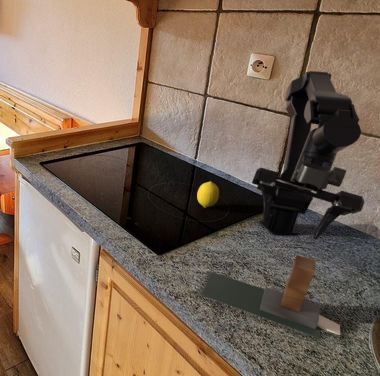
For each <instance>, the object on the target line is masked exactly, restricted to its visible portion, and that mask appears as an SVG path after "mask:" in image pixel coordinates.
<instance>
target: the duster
mask: <svg viewBox="0 0 380 376" xmlns="http://www.w3.org/2000/svg"><path fill="white" fill-rule="evenodd" d="M316 261H317V260H315V259H311V258H308V257H304V256H300V255H296V256H295V258H294V260H293V262H292V263H293V264H292V266H291V269H290V273H289V275H288V278H287V281H286V285H285V287H284V289H283V292H282V291H279V290H276V289H273V288H270V287H268V286H265V288H264V290H265V291H264V294H263V298H262V302H261V306H260V310H263V311H266V312H268V313H271V314H274V315H277V316H279V317H282V318H285V319H288V320H290V321H293V322H296V323H299V324H301V325H304V326H307V327H310V328H312V329H316V327H317V324H318V322H319V308H320V304H318V303H315V302H312V301H310V300H306V299H305V298H306V295H307V293H308V291H309V288H310V286H311V285H310V284H311V282H312V279H313V277H314V274H315V272H316Z"/></svg>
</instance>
